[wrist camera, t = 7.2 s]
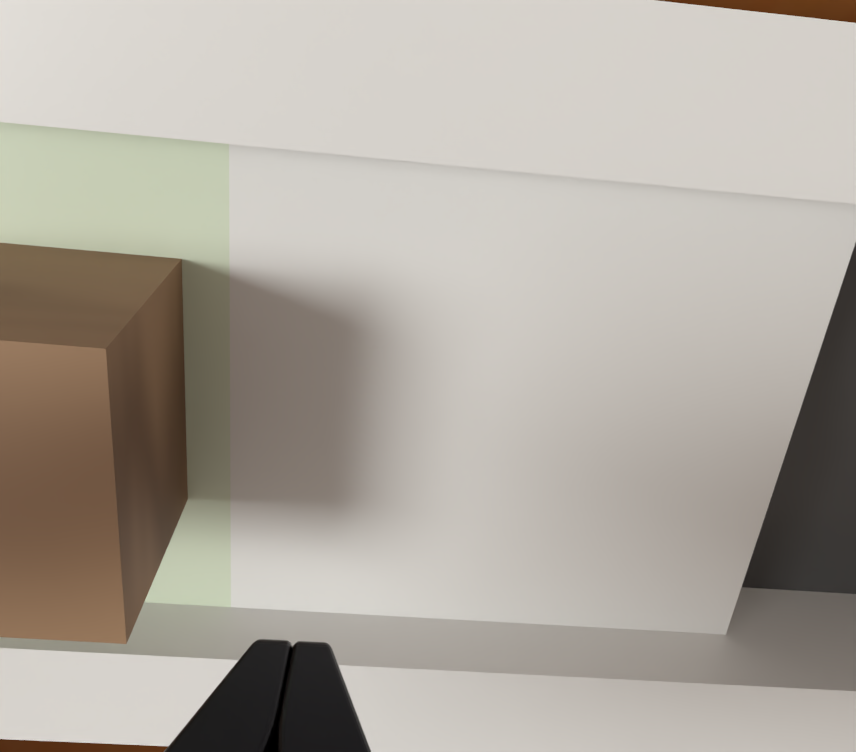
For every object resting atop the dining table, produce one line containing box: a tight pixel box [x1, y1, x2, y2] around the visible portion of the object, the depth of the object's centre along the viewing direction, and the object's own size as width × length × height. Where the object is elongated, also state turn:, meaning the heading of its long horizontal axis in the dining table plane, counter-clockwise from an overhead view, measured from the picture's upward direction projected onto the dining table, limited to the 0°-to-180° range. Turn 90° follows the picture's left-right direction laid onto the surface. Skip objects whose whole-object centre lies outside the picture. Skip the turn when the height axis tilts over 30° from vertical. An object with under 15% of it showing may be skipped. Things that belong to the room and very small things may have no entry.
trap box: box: [0, 0, 856, 752], centre depth 16 cm, size 15×33×4 cm, turn 84°
